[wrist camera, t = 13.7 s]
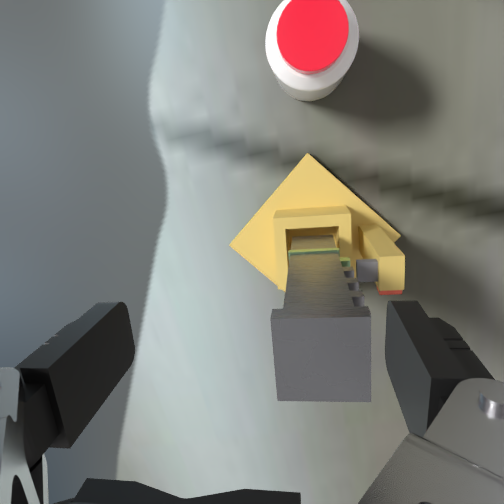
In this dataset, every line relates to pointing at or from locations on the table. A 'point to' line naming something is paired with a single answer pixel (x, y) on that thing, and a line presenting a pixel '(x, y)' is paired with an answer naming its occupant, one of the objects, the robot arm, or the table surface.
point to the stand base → (321, 229)
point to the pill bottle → (311, 46)
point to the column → (321, 327)
